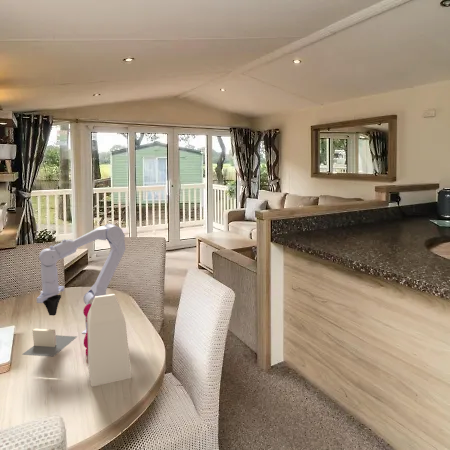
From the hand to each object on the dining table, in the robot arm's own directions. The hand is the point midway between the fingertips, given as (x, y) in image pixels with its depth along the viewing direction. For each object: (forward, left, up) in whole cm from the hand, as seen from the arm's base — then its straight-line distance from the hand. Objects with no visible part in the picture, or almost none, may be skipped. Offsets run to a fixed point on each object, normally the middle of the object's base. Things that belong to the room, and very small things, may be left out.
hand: (52, 314), depth 147 cm
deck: (0, +6, -10) cm, 11 cm away
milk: (-32, +21, -10) cm, 39 cm away
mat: (-2, +6, -10) cm, 12 cm away
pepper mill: (-21, +9, -10) cm, 25 cm away
